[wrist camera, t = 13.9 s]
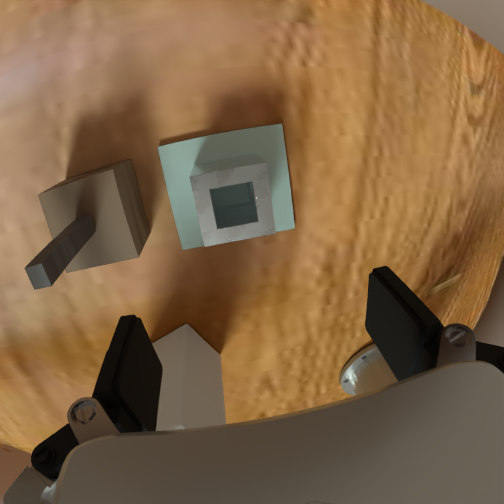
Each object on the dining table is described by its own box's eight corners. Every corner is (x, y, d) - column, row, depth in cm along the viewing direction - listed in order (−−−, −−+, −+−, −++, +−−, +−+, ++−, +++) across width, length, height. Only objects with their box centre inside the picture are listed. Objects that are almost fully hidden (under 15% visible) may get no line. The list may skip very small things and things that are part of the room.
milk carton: (221, 354, 39) (232, 483, 22) (181, 374, 40) (178, 495, 23) (187, 321, 36) (181, 462, 19) (147, 345, 37) (126, 474, 20)
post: (131, 158, 27) (63, 200, 13) (150, 232, 30) (111, 321, 17) (65, 179, 27) (-22, 233, 13) (87, 247, 30) (25, 331, 17)
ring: (255, 153, 28) (266, 162, 22) (264, 211, 30) (276, 233, 25) (194, 164, 28) (189, 176, 22) (205, 222, 30) (204, 246, 25)
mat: (280, 123, 27) (282, 123, 27) (293, 226, 32) (294, 228, 32) (158, 146, 27) (157, 147, 26) (183, 247, 32) (182, 250, 31)
